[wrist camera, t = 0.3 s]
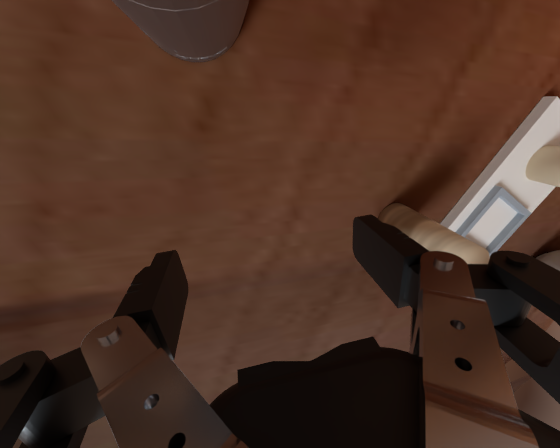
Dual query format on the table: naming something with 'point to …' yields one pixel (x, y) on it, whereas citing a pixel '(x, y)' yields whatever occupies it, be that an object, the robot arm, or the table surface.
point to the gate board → (512, 181)
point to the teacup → (551, 259)
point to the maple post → (432, 234)
